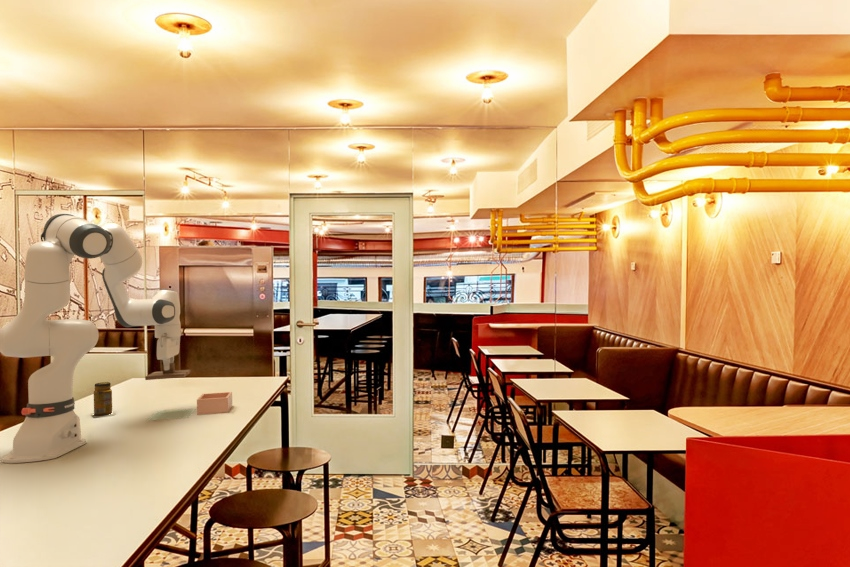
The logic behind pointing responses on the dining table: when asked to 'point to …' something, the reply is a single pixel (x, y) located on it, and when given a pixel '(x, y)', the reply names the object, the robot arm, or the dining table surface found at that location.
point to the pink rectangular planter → (214, 403)
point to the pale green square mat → (171, 414)
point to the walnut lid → (168, 373)
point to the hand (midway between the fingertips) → (168, 369)
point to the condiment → (102, 400)
